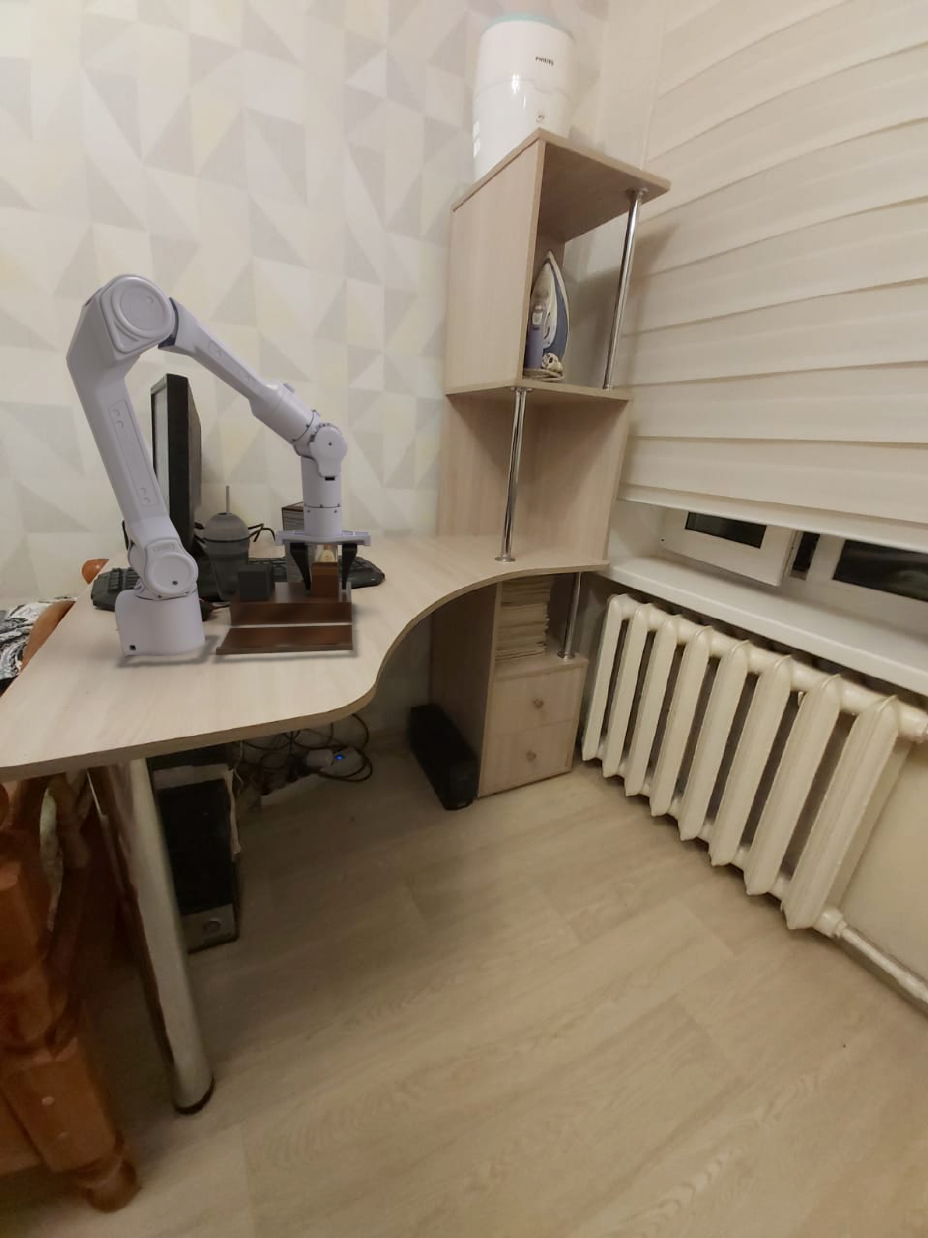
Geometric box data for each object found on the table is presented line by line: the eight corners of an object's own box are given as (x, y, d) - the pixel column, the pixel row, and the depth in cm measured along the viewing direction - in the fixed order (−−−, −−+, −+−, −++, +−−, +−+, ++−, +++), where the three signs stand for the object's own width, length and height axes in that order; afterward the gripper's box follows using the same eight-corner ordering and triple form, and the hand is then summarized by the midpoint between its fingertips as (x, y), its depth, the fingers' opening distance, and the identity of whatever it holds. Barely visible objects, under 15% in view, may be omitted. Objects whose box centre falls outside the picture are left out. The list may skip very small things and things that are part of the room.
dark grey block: (268, 600, 77) (265, 571, 75) (240, 601, 76) (237, 571, 74) (275, 584, 84) (272, 556, 82) (249, 584, 83) (246, 556, 81)
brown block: (338, 597, 80) (337, 568, 78) (312, 597, 79) (311, 568, 77) (339, 581, 87) (338, 554, 85) (315, 581, 86) (314, 554, 84)
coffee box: (310, 578, 101) (306, 498, 95) (340, 582, 100) (337, 502, 94) (286, 592, 93) (280, 506, 87) (318, 597, 92) (314, 510, 86)
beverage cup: (229, 592, 91) (215, 480, 84) (265, 597, 90) (254, 484, 82) (202, 605, 85) (184, 485, 77) (241, 611, 83) (226, 489, 76)
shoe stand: (217, 661, 67) (212, 631, 66) (244, 607, 85) (241, 582, 83) (353, 655, 71) (352, 627, 69) (351, 605, 89) (351, 581, 87)
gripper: (369, 501, 82) (369, 579, 87) (276, 498, 79) (282, 580, 84) (371, 509, 75) (371, 593, 81) (270, 507, 72) (277, 594, 77)
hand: (326, 587), depth 82 cm, fingers open, 5 cm apart
